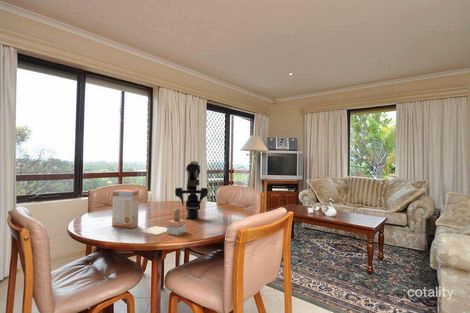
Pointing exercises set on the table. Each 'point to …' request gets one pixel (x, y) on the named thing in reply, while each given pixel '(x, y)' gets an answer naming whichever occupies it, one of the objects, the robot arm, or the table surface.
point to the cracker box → (125, 208)
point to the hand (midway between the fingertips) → (191, 205)
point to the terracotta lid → (176, 219)
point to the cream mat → (155, 230)
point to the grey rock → (176, 230)
